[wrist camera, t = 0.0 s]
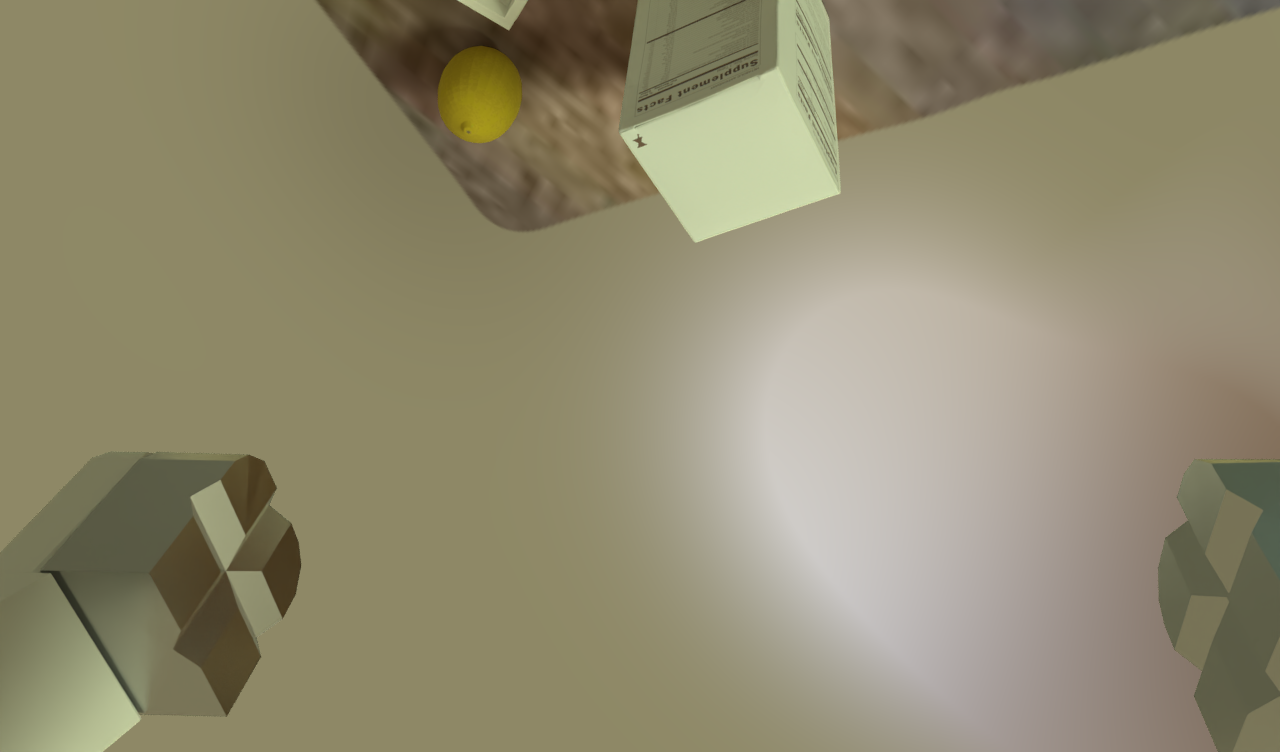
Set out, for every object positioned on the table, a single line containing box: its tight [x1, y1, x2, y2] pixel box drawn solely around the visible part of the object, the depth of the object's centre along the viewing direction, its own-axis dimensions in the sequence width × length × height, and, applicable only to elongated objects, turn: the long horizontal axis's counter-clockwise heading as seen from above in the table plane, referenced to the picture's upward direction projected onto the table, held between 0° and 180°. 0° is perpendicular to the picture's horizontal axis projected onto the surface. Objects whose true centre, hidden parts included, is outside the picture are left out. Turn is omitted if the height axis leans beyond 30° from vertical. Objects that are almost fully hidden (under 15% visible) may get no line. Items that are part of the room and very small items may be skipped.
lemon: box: [438, 46, 522, 143], centre depth 64 cm, size 6×6×8 cm
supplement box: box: [619, 0, 841, 242], centre depth 55 cm, size 10×9×17 cm
